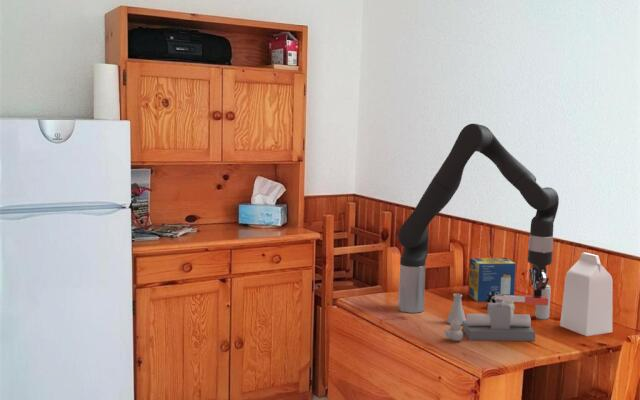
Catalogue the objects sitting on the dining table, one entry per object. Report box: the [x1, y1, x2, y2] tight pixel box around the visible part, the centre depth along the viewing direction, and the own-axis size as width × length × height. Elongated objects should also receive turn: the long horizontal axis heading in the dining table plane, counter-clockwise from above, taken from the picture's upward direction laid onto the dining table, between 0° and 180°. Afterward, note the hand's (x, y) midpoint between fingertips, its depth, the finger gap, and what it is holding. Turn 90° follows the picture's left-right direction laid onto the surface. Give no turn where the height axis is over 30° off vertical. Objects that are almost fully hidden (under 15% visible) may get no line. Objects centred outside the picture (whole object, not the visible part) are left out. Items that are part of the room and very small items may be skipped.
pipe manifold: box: [462, 301, 536, 342], centre depth 215 cm, size 21×11×11 cm, turn 89°
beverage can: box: [534, 284, 552, 321], centre depth 234 cm, size 5×5×12 cm
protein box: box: [468, 257, 517, 303], centre depth 260 cm, size 10×15×16 cm
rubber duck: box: [444, 317, 464, 342], centre depth 209 cm, size 5×7×8 cm
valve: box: [484, 291, 516, 314], centre depth 241 cm, size 7×7×12 cm
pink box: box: [495, 294, 548, 306], centre depth 212 cm, size 16×3×2 cm, turn 76°
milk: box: [559, 252, 614, 337], centre depth 221 cm, size 12×12×26 cm
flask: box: [446, 293, 467, 326], centre depth 228 cm, size 7×7×10 cm
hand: (537, 300), depth 214 cm, fingers closed
